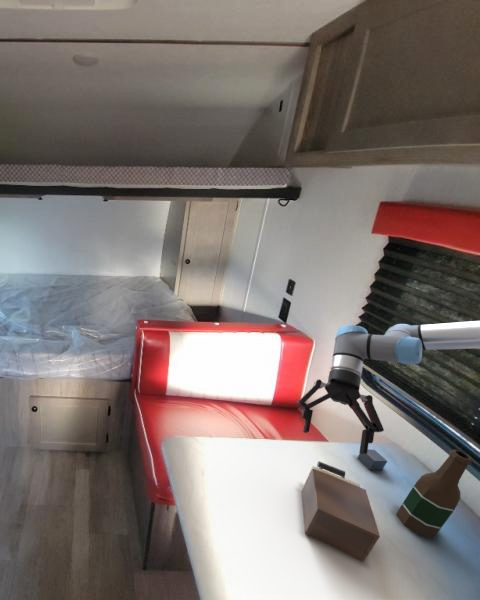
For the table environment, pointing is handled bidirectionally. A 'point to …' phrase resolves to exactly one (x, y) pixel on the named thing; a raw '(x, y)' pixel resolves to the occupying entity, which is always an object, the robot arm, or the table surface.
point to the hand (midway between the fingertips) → (333, 442)
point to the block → (372, 460)
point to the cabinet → (338, 515)
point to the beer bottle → (434, 497)
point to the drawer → (332, 470)
